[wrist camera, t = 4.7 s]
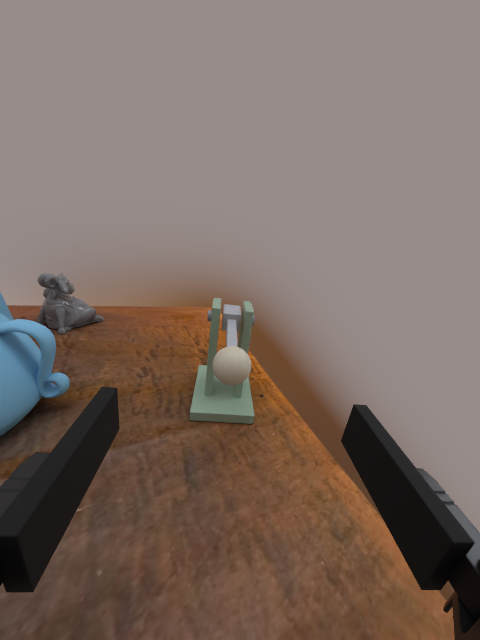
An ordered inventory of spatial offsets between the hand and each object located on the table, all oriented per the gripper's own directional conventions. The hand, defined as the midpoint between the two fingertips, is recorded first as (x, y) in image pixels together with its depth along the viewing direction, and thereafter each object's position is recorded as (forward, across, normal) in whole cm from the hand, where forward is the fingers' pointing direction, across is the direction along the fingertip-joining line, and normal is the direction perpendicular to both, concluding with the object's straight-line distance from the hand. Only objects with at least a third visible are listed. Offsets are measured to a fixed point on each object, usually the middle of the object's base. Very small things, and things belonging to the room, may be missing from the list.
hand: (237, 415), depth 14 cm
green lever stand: (+19, 0, -13) cm, 23 cm away
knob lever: (+14, 0, -3) cm, 14 cm away
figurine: (+39, -32, -13) cm, 52 cm away
